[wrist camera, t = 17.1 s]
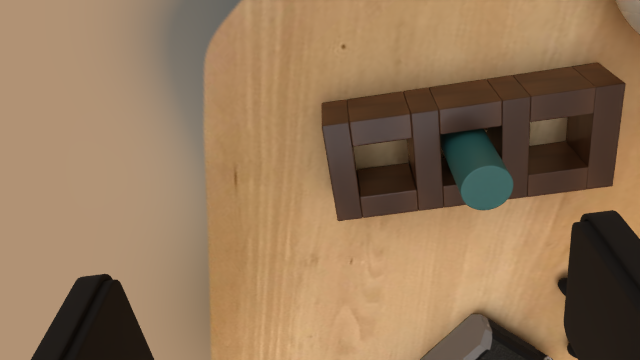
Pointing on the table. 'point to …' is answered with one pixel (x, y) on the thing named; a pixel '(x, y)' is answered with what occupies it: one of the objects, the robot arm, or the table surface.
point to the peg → (477, 169)
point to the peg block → (469, 114)
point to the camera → (483, 343)
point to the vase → (630, 12)
